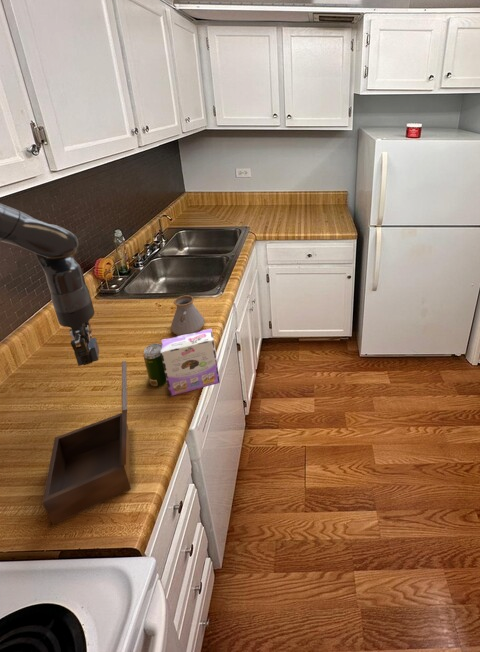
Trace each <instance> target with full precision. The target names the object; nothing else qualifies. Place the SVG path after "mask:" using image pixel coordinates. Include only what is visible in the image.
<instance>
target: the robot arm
mask: <svg viewBox="0 0 480 652" xmlns="http://www.w3.org/2000/svg"><path fill="white" fill-rule="evenodd" d="M0 242H2V243H5V244H10V245H12V246H16V247H19V248H20V249H21V248H22V249H24V250H26V251H28V252H32V253H34V255H35V257H36V258H37V261H38V263H39V265H40V266H41V268H42V270H43V273H44V274H45V279H46V283H47V286H48V289H49V292H50V298H51V303H52V305H53V309H54V312H55V315H56V319H57V322H58V324H59V325H60V326H62V327H65V328H70V329H68V330H69V335H70V338H71V339H72V340H71V341H70V345H71V348H72V350H73V353H74V352H75V353H74V355H75V354H76V356H77V357H81V361H82V364H83V365H82V366H87V365H90V364H92V363H94V362H93V359H92V355H91V352H90V347H89V343H90V339H91V338H93V334H92V332H93V329H92V326H91V325H92V324H91V320H92V318H93V317H94V315H95V313H96V312H95V307H94V304H93V301H92V297H91V293H90V289H89V288H88V285H87V283H86V280H85V276H84V273H83V269H82V267H81V265H80V264H79V262H77V261H76V259H75V257H74V256H75V255H76V253H77V252H78V250H79V247H80V241H79V239H78V237H77V235H76V234H75V233H73V232H72V231H71V230H68V229H66V228H64V227H62V226H60V225H57V224H51V223H48V222H45V221H42V220H39V219H36V218H34V217H33V216H30V215H29V214H27V213H26V212H23V211H21V210H18V209H16V208H13V207H11V206H8V205H5V204H3V203H0ZM76 356H75V357H76Z"/></svg>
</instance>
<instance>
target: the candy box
mask: <svg viewBox="0 0 480 652" xmlns="http://www.w3.org/2000/svg"><path fill="white" fill-rule="evenodd" d="M214 339H215V338H214V333H213V329H212V328H208V329H204V330H200V331H199V332H195V333H190V334H186V335H181V336H178V335H176V336H173V337H168V338H164V339H163V338H162V339H161V343H160V344H161V357H162V362H163V366H164V371H165V375H166V380H167V382H166V384H167V388H168V394H169V396H170V397H171V396H175V395H176V396H177V395H180V394H184V393H187V392H191V391H195V390H199V389H203V388H206V387H209V386H214V385H218V384H220V381H221V380H220V373H219V366H218V365H219V364H218V359H217V350H216V344H215V340H214Z"/></svg>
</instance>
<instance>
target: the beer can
mask: <svg viewBox="0 0 480 652" xmlns="http://www.w3.org/2000/svg"><path fill="white" fill-rule="evenodd" d="M143 360H144V364H145V365H144V366H145V368H146V373H147V378H148V381H149V384H150V386H151V387H153V388H154V387H155V388H156V387H162V386H163V385H166V384H167V380H166V375H165V371H164V366H163V362H162V357H161V343H152V344H149V345H147V346H145V348H144V350H143Z"/></svg>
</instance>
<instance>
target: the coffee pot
mask: <svg viewBox="0 0 480 652" xmlns="http://www.w3.org/2000/svg"><path fill="white" fill-rule="evenodd" d="M194 300H195V299H194V296H193V295H190V294H186V295H181V296H179V297H176V299H175V300H174V301H173V304H174V305H175V306H176V309H175V312H174V315H173V318H172V321H171V325H170V330H171V331H172V333H173V334H174V335H176V336H181V335H186V334H190V333H195V332H199V331H202V329H203V326H204V325H205V317H204V316H203V315H202V314H201V312H200V311H199V309H198V308H197V306H195V304H194Z"/></svg>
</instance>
